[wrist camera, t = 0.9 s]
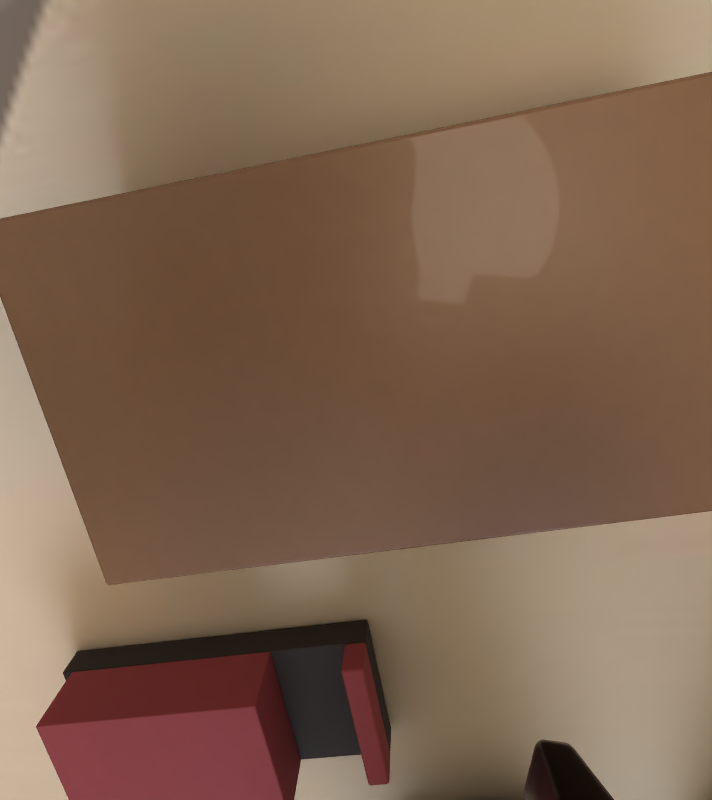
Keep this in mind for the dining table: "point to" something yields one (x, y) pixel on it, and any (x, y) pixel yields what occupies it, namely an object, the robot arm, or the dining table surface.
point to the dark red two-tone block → (217, 715)
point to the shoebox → (383, 339)
